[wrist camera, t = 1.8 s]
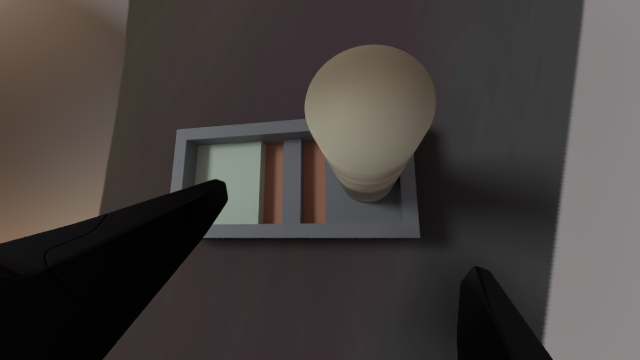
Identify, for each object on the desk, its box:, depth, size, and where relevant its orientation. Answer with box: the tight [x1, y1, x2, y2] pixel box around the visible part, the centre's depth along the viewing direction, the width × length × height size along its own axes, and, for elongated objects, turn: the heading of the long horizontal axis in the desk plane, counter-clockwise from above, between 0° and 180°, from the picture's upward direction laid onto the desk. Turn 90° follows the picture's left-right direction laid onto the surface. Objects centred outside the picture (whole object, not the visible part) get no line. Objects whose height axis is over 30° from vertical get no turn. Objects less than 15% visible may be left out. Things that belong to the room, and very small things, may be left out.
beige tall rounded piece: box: [305, 45, 436, 203], centre depth 14 cm, size 4×4×12 cm
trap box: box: [170, 119, 420, 238], centre depth 21 cm, size 9×19×3 cm, turn 90°
